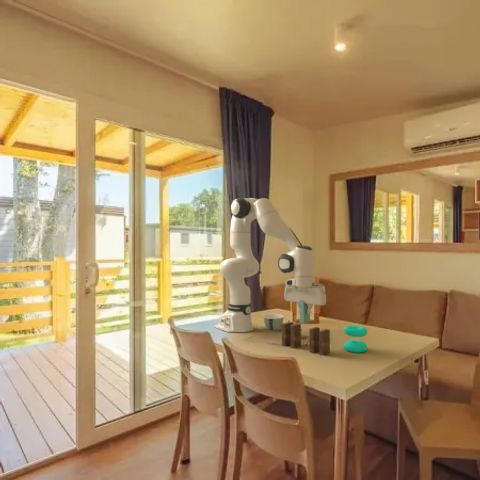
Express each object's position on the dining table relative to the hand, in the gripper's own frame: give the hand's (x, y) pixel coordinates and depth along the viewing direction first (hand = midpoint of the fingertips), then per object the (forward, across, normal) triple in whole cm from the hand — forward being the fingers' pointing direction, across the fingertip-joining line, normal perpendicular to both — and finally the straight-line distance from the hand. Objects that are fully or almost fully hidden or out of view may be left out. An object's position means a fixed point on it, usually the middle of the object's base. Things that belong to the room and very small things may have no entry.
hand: (304, 313), depth 164 cm
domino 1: (+16, +10, 0) cm, 19 cm away
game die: (+16, +16, -13) cm, 26 cm away
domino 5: (+16, -10, 0) cm, 19 cm away
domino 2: (+16, +5, 0) cm, 17 cm away
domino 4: (+16, -5, 0) cm, 17 cm away
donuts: (+16, -17, -14) cm, 27 cm away
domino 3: (+4, 0, 0) cm, 4 cm away
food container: (+16, +35, -21) cm, 44 cm away
